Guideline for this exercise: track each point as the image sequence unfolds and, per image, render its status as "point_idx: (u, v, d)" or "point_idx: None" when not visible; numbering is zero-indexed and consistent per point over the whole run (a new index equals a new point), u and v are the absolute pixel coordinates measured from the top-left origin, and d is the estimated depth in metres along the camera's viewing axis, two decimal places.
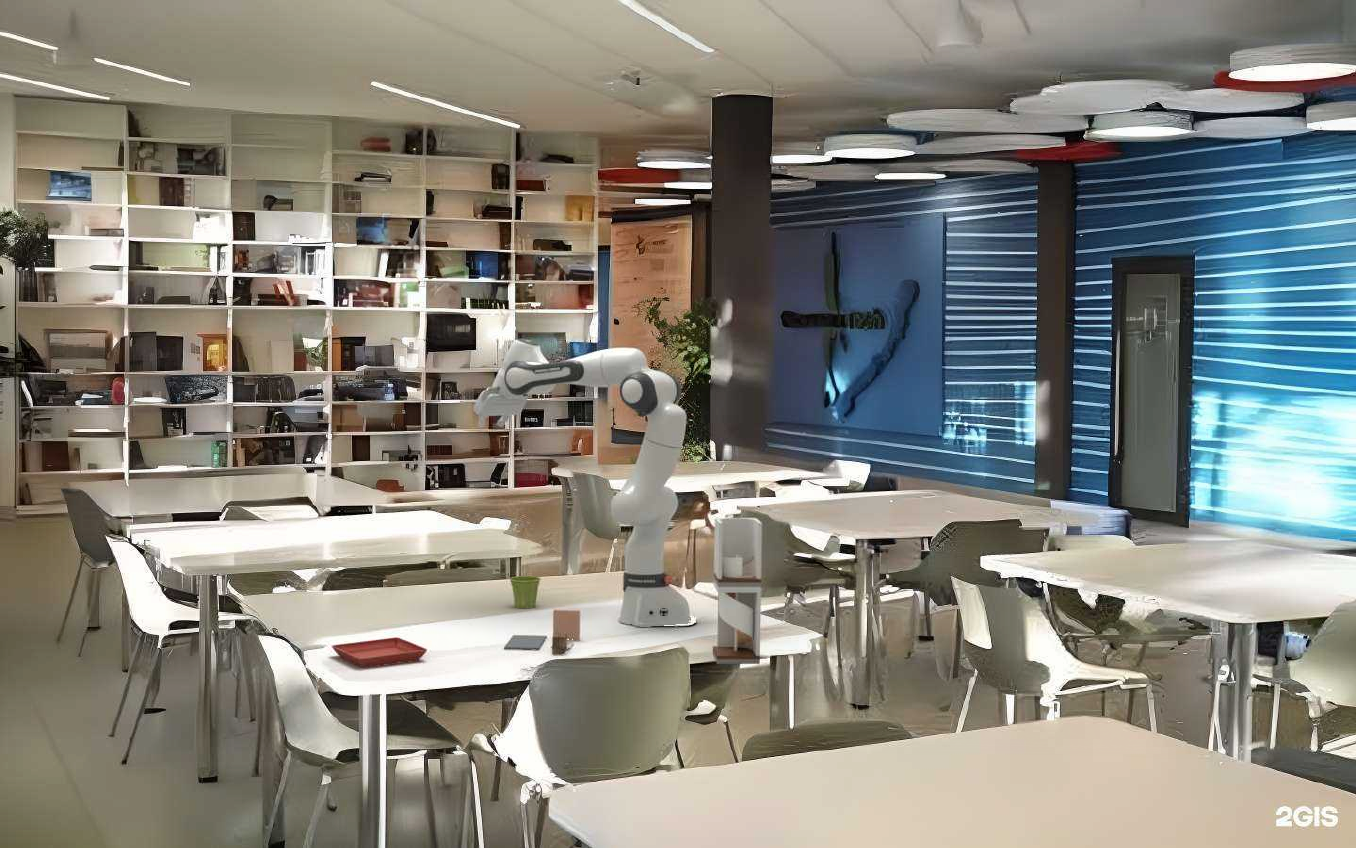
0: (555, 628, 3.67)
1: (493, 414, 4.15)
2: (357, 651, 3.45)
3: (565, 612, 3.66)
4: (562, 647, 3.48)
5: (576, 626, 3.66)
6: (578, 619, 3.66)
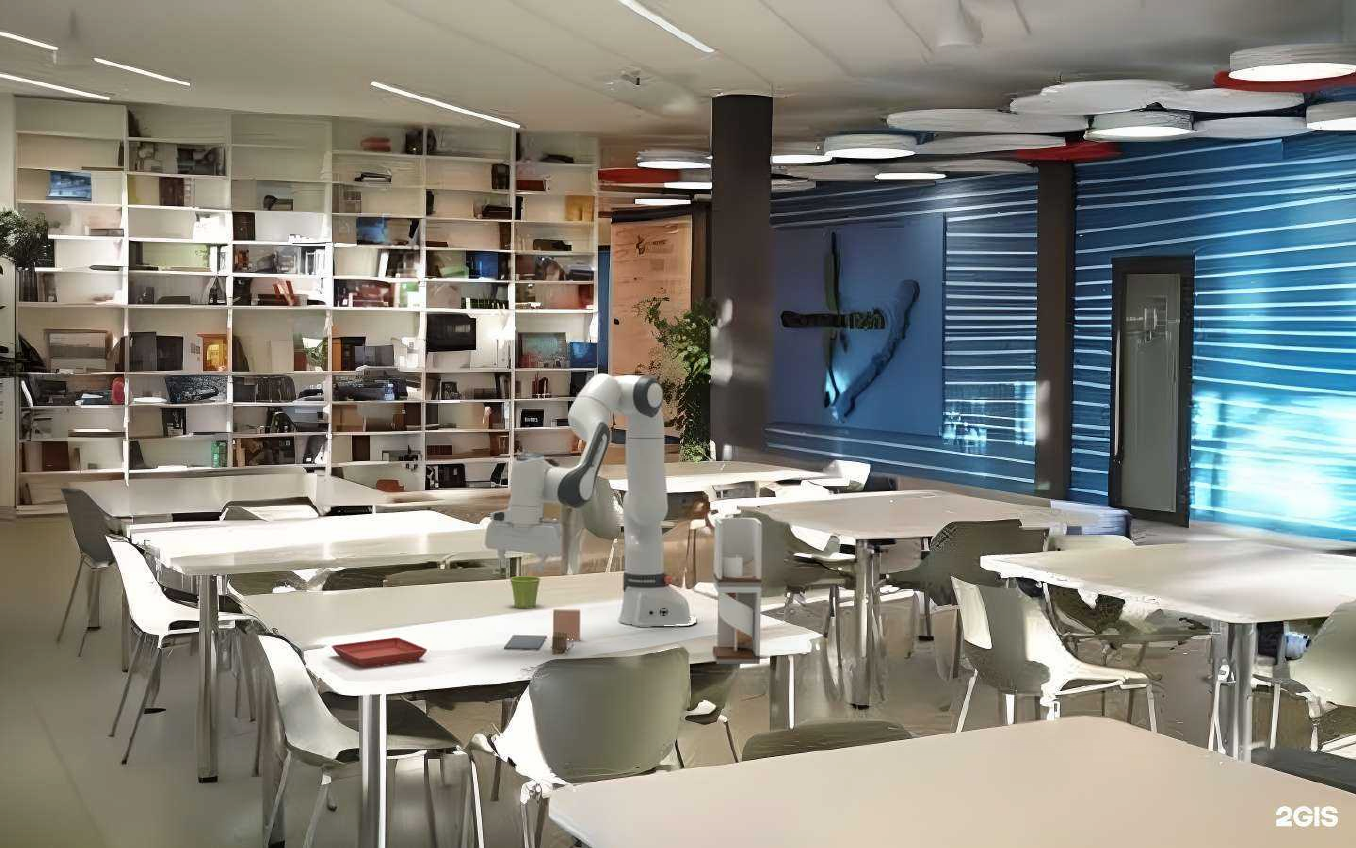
0: (555, 628, 3.67)
1: None
2: (357, 651, 3.45)
3: (565, 612, 3.66)
4: (562, 647, 3.48)
5: (576, 626, 3.66)
6: (578, 619, 3.66)
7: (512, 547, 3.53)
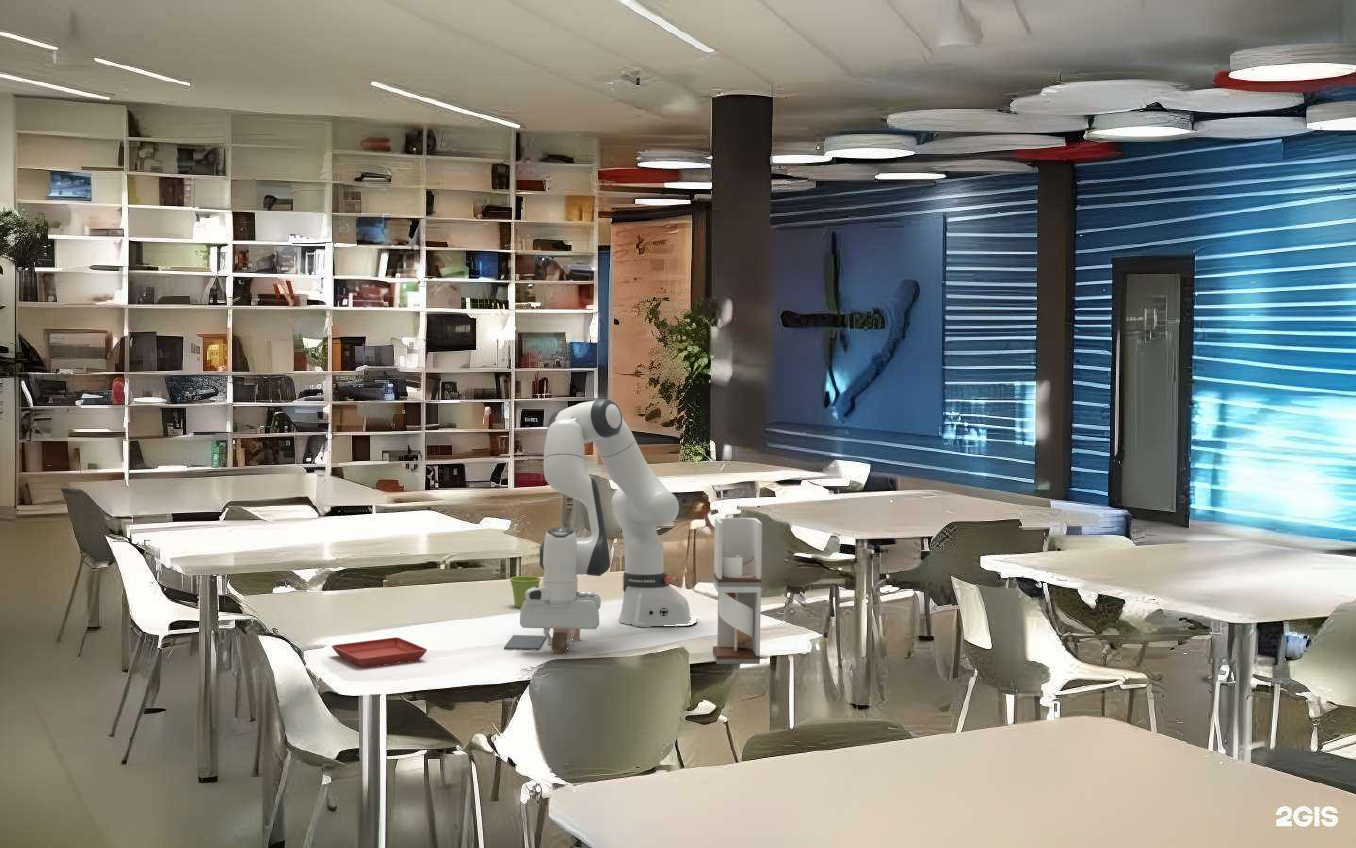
0: None
1: None
2: (357, 651, 3.45)
3: None
4: (562, 647, 3.48)
5: None
6: None
7: (550, 624, 3.50)
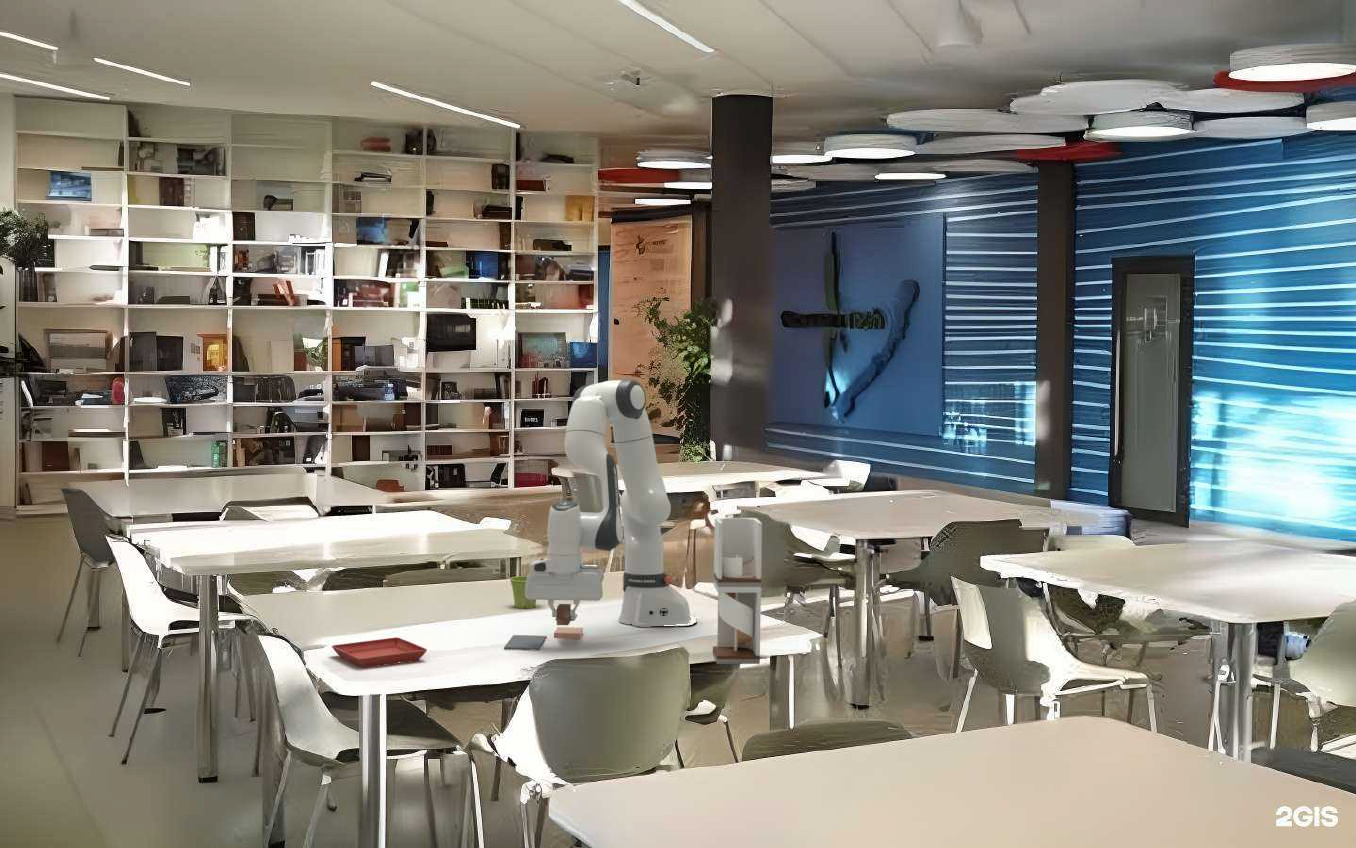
0: (557, 630, 3.72)
1: None
2: (357, 651, 3.45)
3: (569, 627, 3.76)
4: (566, 618, 3.56)
5: (578, 630, 3.72)
6: (581, 629, 3.74)
7: (554, 596, 3.57)
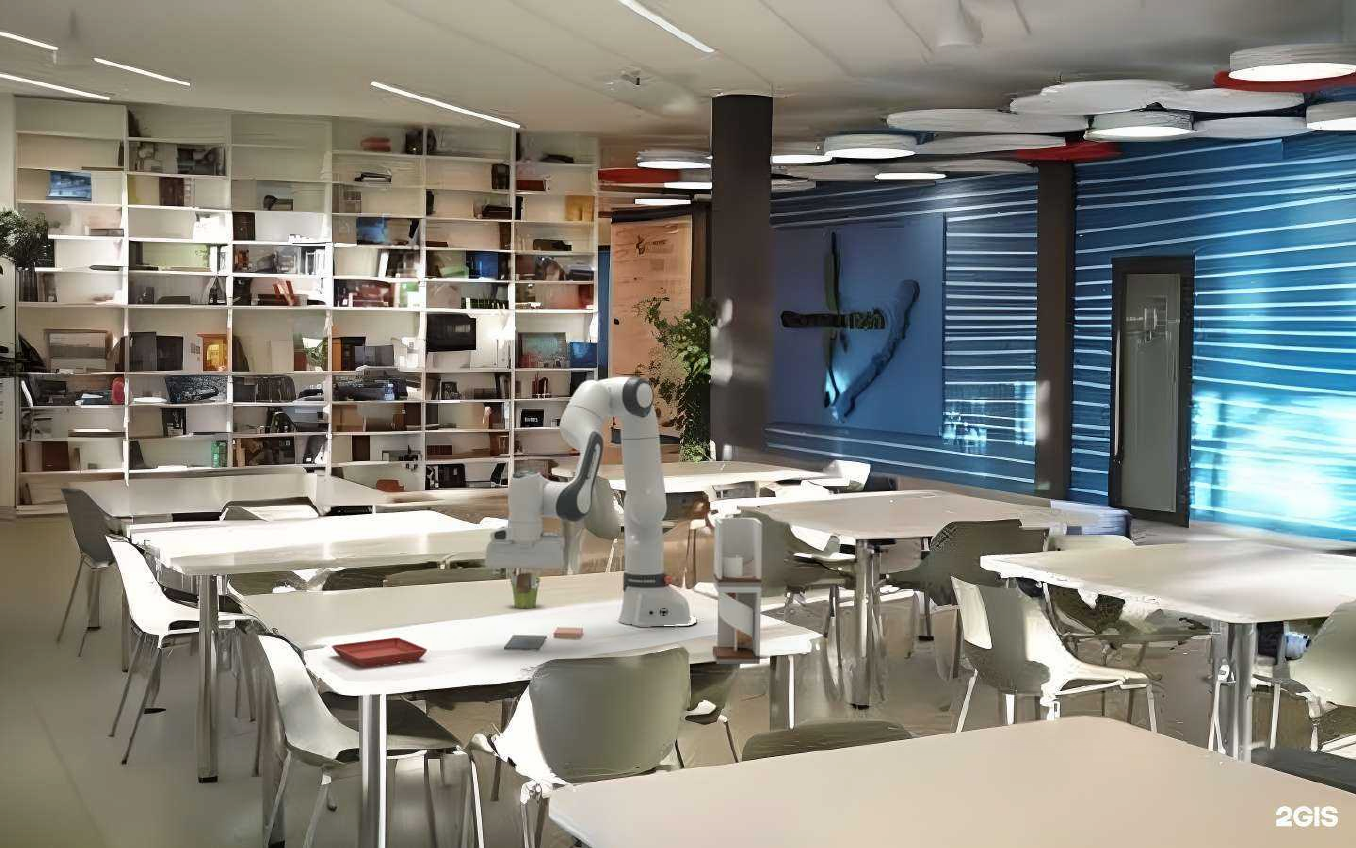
0: (557, 630, 3.72)
1: None
2: (357, 651, 3.45)
3: (569, 628, 3.76)
4: (526, 586, 3.54)
5: (578, 630, 3.72)
6: (581, 629, 3.74)
7: (514, 564, 3.55)
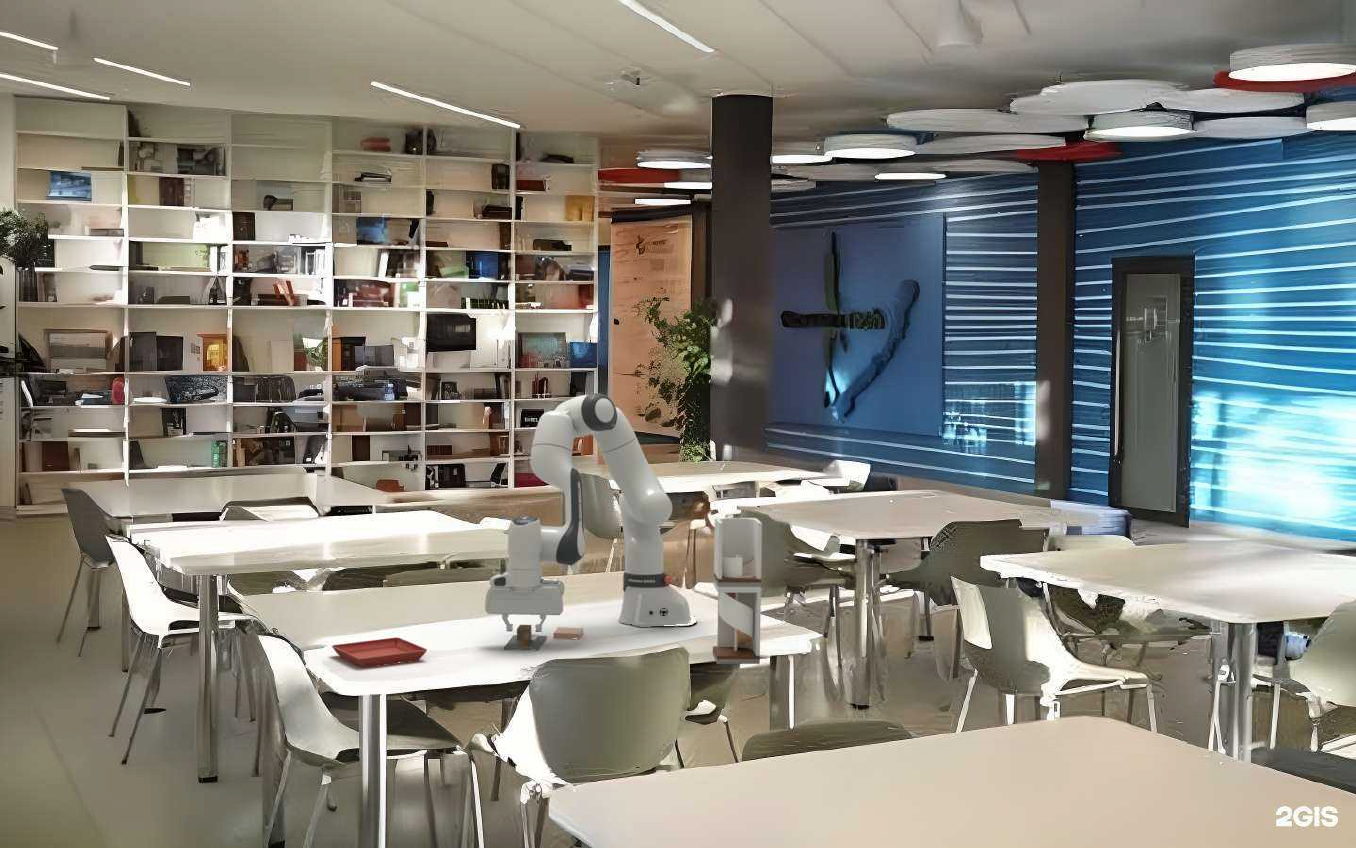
0: (557, 630, 3.72)
1: None
2: (357, 651, 3.45)
3: (569, 628, 3.76)
4: (526, 639, 3.55)
5: (578, 631, 3.72)
6: (581, 629, 3.74)
7: (514, 610, 3.56)
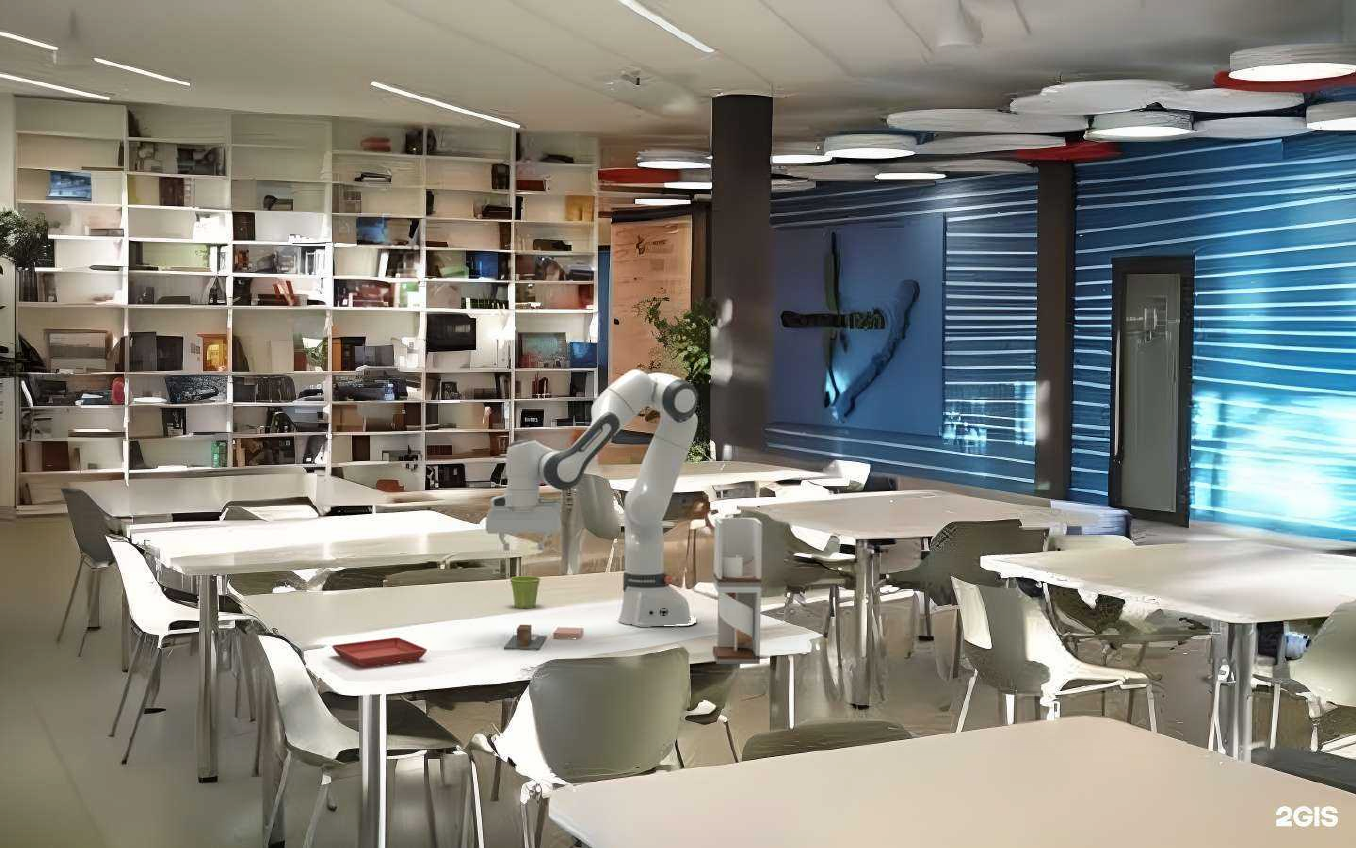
0: (557, 630, 3.72)
1: None
2: (357, 651, 3.45)
3: (569, 628, 3.76)
4: (526, 639, 3.55)
5: (578, 631, 3.72)
6: (581, 629, 3.74)
7: (514, 530, 3.71)
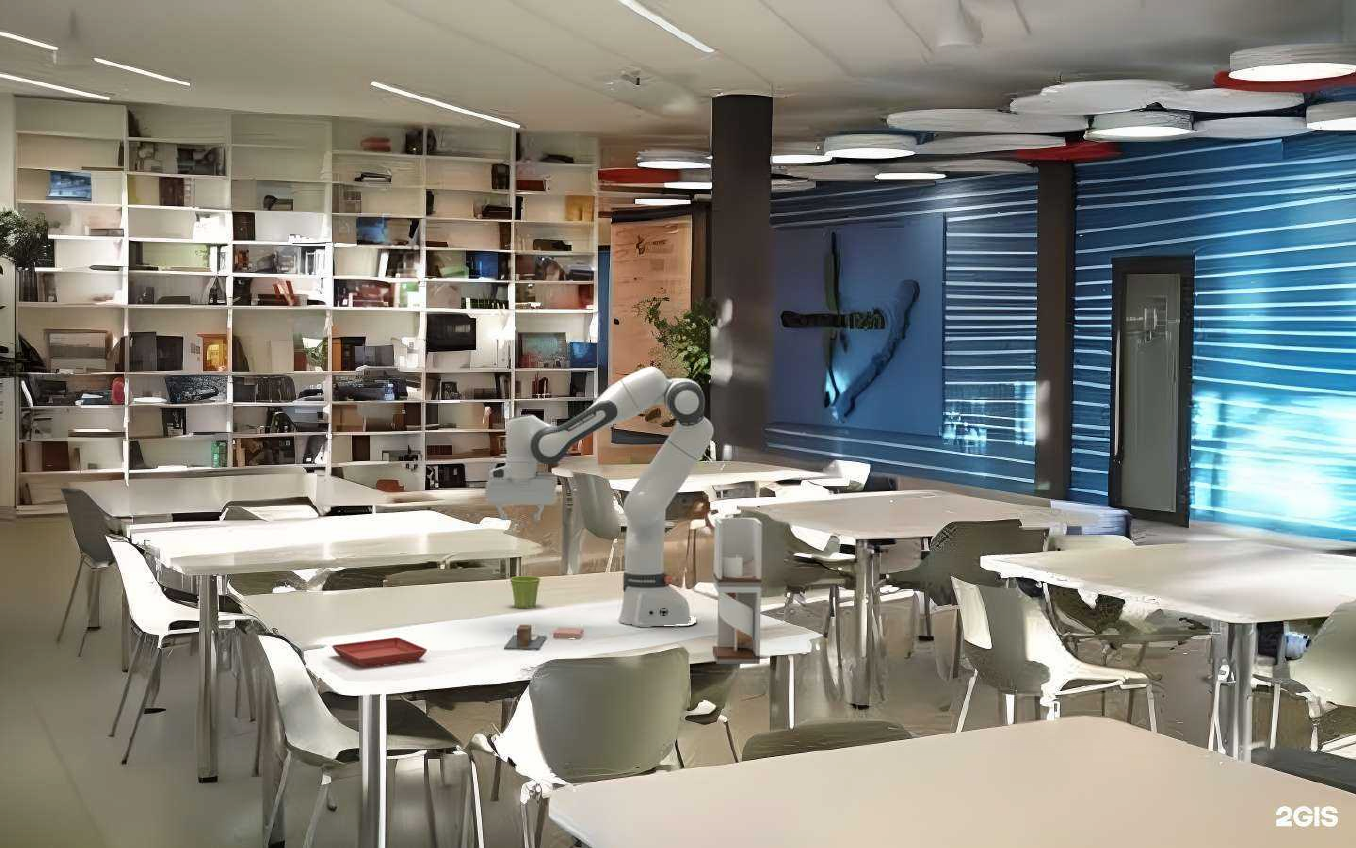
0: (557, 630, 3.72)
1: None
2: (357, 651, 3.45)
3: (570, 628, 3.76)
4: (526, 639, 3.55)
5: (578, 631, 3.72)
6: (581, 630, 3.74)
7: (511, 500, 3.88)
